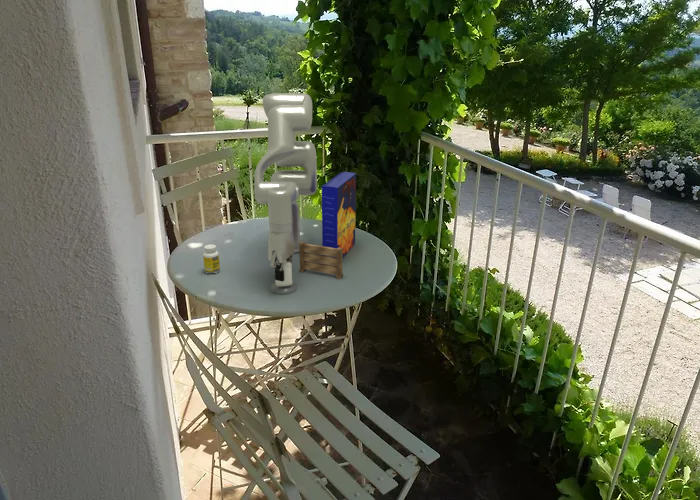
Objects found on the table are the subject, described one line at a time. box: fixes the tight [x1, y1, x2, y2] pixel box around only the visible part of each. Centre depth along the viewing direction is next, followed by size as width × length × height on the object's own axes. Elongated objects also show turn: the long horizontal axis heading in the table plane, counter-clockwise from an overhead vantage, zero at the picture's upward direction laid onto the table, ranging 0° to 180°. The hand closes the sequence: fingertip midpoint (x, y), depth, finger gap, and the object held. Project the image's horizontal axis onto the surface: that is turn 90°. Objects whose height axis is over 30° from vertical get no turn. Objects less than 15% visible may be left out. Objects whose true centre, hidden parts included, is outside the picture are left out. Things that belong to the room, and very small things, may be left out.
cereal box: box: [321, 171, 357, 259], centre depth 191 cm, size 22×6×30 cm, turn 162°
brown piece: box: [298, 240, 344, 280], centre depth 177 cm, size 16×3×11 cm, turn 69°
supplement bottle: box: [202, 244, 221, 274], centre depth 179 cm, size 5×5×10 cm
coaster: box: [269, 281, 298, 295], centre depth 169 cm, size 9×9×1 cm
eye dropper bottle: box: [274, 260, 293, 286], centre depth 166 cm, size 4×6×12 cm
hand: (283, 276), depth 168 cm, fingers closed on eye dropper bottle, 4 cm apart
